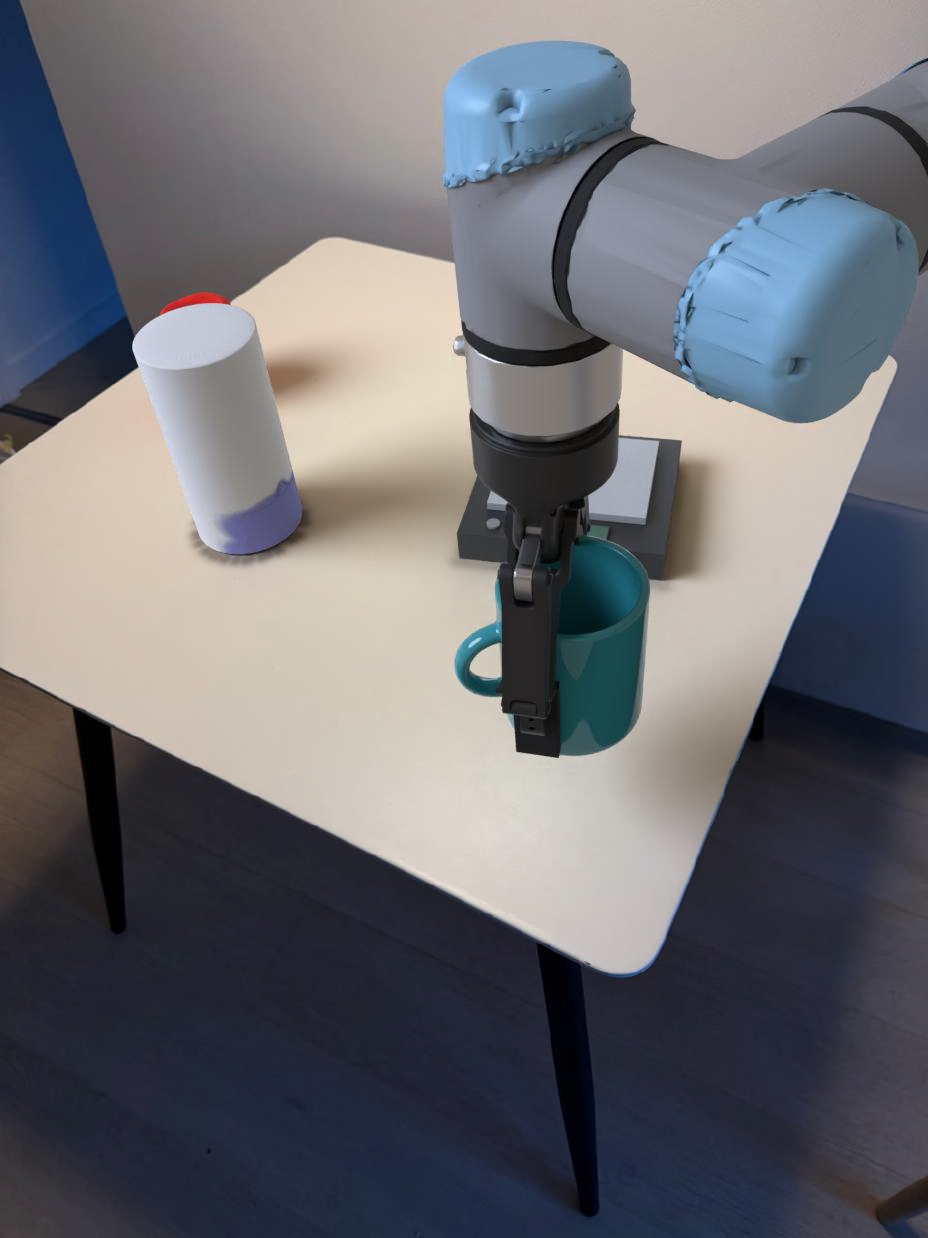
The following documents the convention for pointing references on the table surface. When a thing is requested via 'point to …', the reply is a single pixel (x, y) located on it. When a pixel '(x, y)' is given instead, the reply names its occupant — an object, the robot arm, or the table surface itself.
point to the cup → (587, 647)
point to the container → (221, 425)
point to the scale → (598, 507)
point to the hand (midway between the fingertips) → (552, 690)
